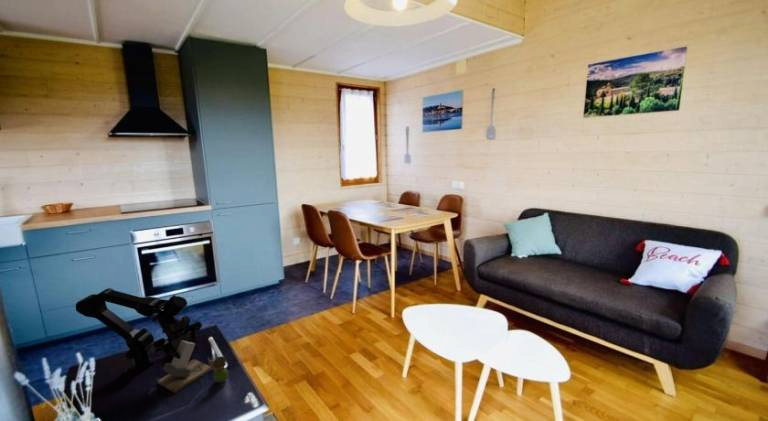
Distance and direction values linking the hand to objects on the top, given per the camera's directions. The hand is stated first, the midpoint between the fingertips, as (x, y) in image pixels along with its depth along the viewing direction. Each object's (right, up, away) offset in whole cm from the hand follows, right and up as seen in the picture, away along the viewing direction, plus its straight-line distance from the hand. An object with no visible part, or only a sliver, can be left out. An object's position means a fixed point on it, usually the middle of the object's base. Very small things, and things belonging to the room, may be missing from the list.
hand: (188, 353), depth 138 cm
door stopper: (-14, -5, +23) cm, 27 cm away
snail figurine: (+15, -10, -3) cm, 18 cm away
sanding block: (-4, -7, -2) cm, 8 cm away
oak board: (-1, -9, +1) cm, 10 cm away
